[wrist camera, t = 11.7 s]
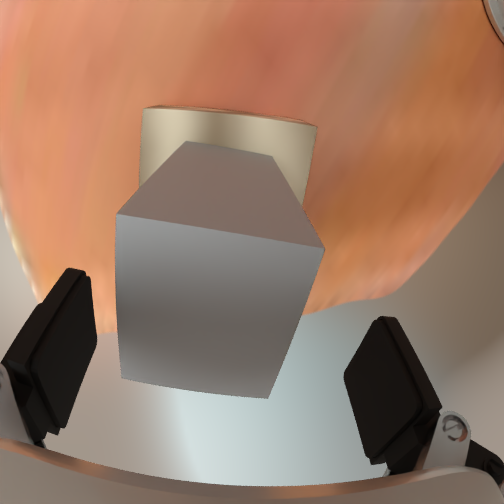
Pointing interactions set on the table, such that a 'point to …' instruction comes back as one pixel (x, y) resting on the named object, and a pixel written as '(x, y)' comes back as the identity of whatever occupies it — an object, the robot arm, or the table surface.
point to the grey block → (212, 272)
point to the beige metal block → (228, 138)
